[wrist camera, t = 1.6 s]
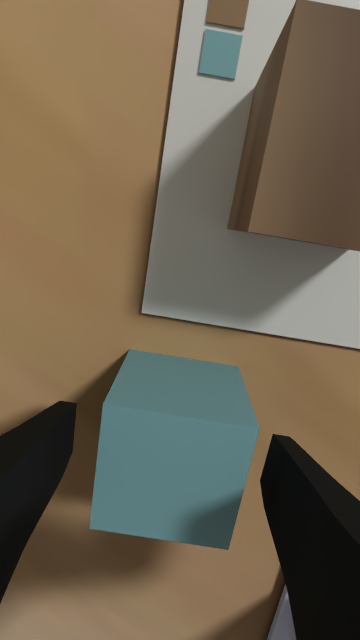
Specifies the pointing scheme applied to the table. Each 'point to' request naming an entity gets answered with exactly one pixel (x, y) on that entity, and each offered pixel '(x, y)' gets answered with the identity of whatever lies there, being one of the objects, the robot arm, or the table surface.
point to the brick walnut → (305, 134)
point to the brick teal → (173, 450)
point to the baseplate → (218, 190)
